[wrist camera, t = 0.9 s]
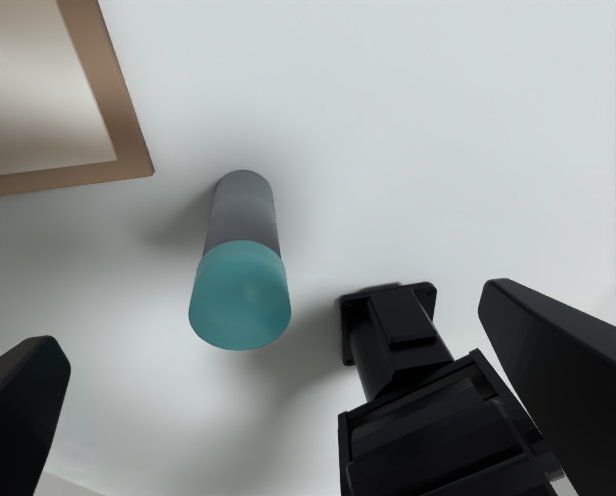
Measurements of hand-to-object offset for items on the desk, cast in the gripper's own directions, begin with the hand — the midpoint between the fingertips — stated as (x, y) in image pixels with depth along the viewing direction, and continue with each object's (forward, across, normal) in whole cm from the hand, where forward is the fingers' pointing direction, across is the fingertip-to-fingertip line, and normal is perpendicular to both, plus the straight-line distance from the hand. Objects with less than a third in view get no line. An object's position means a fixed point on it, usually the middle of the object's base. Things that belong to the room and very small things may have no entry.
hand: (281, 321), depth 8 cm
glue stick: (+12, +1, +2) cm, 12 cm away
